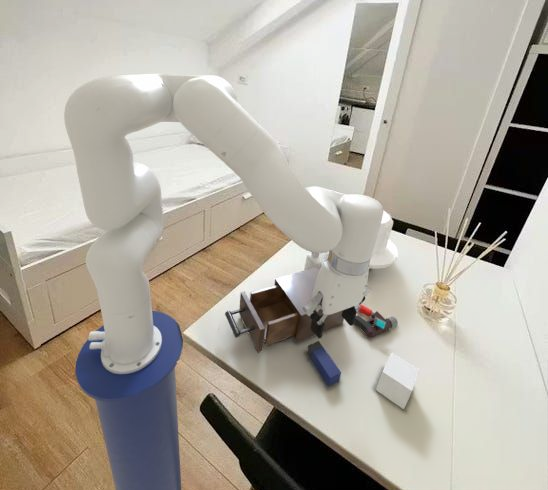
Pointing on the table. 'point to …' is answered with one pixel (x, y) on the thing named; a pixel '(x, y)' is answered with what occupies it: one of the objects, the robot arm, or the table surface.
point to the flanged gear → (384, 245)
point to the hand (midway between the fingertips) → (332, 326)
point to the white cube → (397, 380)
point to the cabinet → (305, 301)
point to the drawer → (265, 316)
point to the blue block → (323, 363)
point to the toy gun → (374, 322)
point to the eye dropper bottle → (313, 261)
